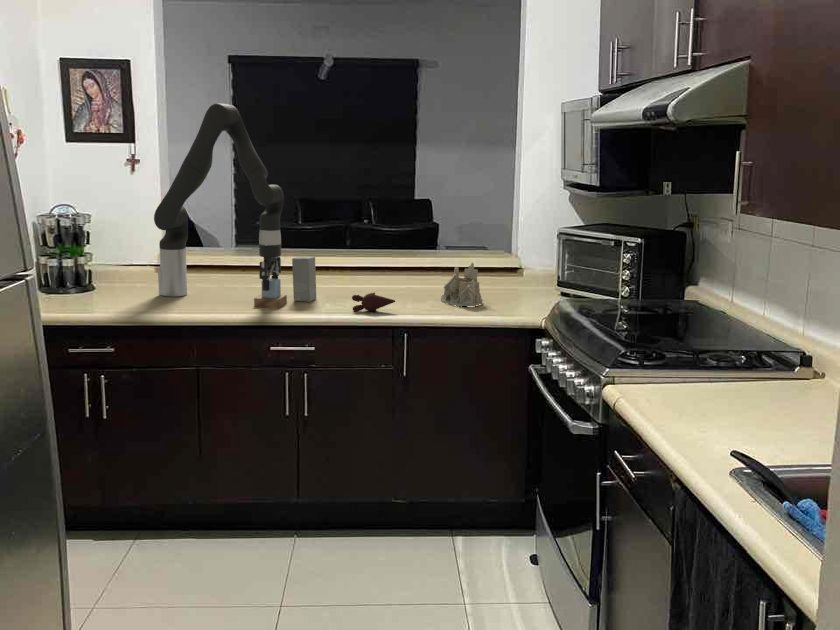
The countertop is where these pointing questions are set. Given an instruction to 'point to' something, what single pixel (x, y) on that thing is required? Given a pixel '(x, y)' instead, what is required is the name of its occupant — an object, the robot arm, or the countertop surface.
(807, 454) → the countertop surface
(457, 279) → the ceramic cottage
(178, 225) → the robot arm
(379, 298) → the icecream
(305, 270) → the skincare box
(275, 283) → the blue block
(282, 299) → the walnut base
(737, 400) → the countertop surface
